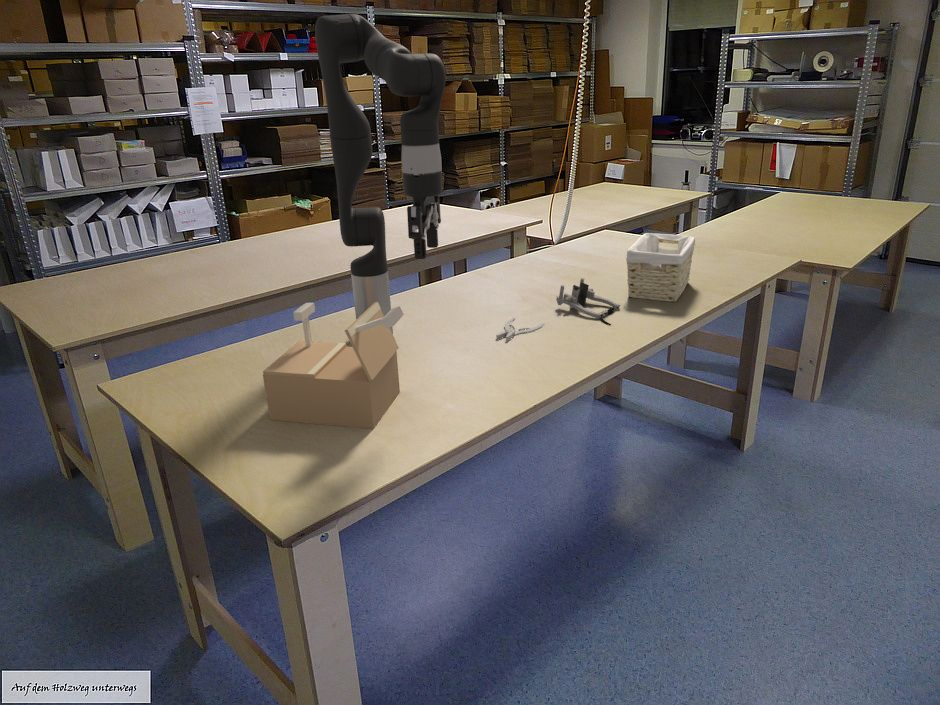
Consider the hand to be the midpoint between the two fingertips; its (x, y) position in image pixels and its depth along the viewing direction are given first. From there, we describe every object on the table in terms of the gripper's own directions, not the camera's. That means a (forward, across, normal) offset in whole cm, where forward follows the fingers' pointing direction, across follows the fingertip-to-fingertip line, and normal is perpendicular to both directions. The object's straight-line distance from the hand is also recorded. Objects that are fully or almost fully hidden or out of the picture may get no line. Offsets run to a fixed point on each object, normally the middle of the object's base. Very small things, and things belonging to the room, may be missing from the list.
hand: (426, 252), depth 132 cm
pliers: (+31, -36, +12) cm, 49 cm away
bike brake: (+31, -55, +31) cm, 70 cm away
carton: (+30, +11, -18) cm, 37 cm away
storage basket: (+30, -76, +49) cm, 96 cm away
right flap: (+15, +11, -9) cm, 21 cm away
